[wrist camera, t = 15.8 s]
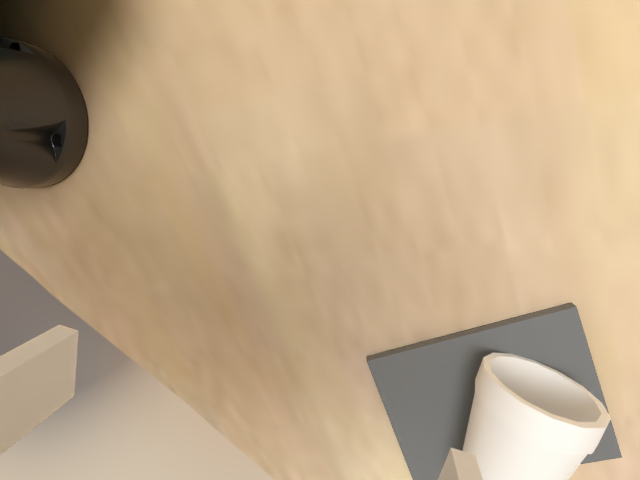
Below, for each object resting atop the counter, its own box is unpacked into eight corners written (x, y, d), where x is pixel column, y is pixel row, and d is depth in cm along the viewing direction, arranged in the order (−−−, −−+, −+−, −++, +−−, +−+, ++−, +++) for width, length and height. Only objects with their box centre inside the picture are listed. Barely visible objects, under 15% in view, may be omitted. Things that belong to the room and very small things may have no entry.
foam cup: (467, 449, 40) (508, 345, 37) (560, 523, 33) (620, 403, 30) (419, 489, 34) (463, 366, 30) (522, 589, 27) (592, 447, 24)
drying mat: (416, 483, 41) (417, 490, 40) (367, 356, 39) (366, 361, 38) (615, 449, 36) (621, 457, 35) (571, 302, 34) (576, 306, 33)
